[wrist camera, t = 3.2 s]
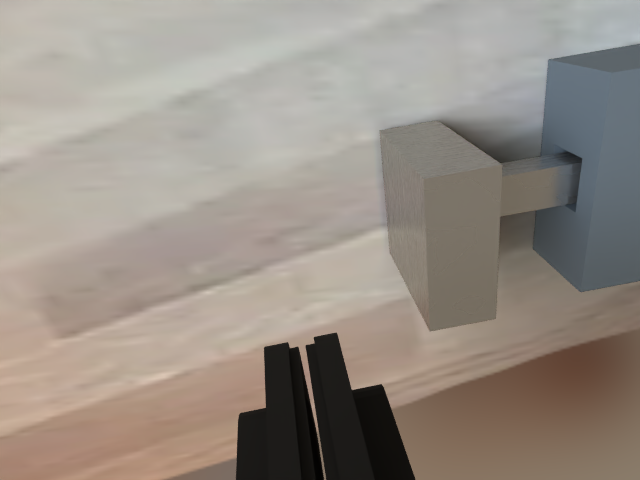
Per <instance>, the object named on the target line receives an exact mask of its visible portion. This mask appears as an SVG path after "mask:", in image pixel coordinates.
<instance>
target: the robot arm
mask: <svg viewBox="0 0 640 480" xmlns="http://www.w3.org/2000/svg"><path fill="white" fill-rule="evenodd" d="M314 342H315V344H310V345H306V351H307V358H308V364H309V370H310V377H311V383H312V390H313V396H314V403H315V409H316V415H317V422H318V428H319V434H320V441H321V447H322V454H323V460H324V467H325V473H326V480H415V477H414V474H413V471H412V468H411V465H410V463H409V460H408V457H407V454H406V451H405V448H404V445H403V442H402V439H401V436H400V434H399V431H398V428H397V425H396V422H395V419H394V416H393V413H392V410H391V407H390V404H389V401H388V398H387V396H386V393H385V390H384V387H383V386H382V384H380V385H375V386H370V387H365V388H360V389H356V390H352V389H351V386H350V382H349V378H348V374H347V370H346V366H345V362H344V358H343V355H342V351H341V347H340V343H339V339H338V335H337V333H332V334H327V335H322V336H317V337H314ZM264 361H265V392H266V408H263V409H258V410H254V411H249V412H244V413H240V414H239V419H238V440H237V469H236V470H237V471H236V480H324V477H323V470H322V463H321V457H320V450H319V443H318V438H317V432H316V427H315V422H314V417H313V413H312V408H311V403H310V399H309V394H308V389H307V385H306V380H305V375H304V371H303V366H302V361H301V356H300V352H299V348H298V347H295V348H290V347H289V344H288V342H287V343H282V344H277V345H272V346H267V347H264Z"/></svg>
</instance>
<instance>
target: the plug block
mask: <svg viewBox="0 0 640 480" xmlns="http://www.w3.org/2000/svg"><path fill="white" fill-rule="evenodd" d="M380 143H381V155H382V167H383V178H384V190H385V202H386V214H387V226H388V238H389V250H390V254H391V256H392V258H393V260H394V262H395V264H396V266H397V268H398V270H399V272H400V274H401V276H402V278H403V280H404V282H405V284H406V286H407V288H408V290H409V292H410V294H411V295H412V297H413V299H414V301H415V303H416V305H417V307H418V309H419V311H420V313H421V315H422V317H423V319H424V321H425V323H426V325H427V327H428V329H429V331H435V330H440V329H445V328H450V327H456V326H461V325H466V324H471V323H477V322H482V321H487V320H492V319H496V305H497V282H498V258H499V235H500V217H501V216H507V215H512V214H518V213H523V212H529V211H534V210H540V209H545V208H551V207H556V206H561V205H567V204H572V203H577V197H578V189H579V181H580V173H581V165H582V158H581V157H579V156H577V155H574V154H572V153H570V152H568V151H567V152H561V153H556V154H550V155H545V156H539V157H533V158H528V159H522V160H517V161H511V162H505V163H499V162H498V161H496V160H495V159H493V158H492V157H490V156H489V155H487V154H486V153H484V152H483V151H481V150H480V149H479V148H477V147H476V146H474V145H473V144H471V143H470V142H468V141H467V140H465V139H464V138H462V137H461V136H459V135H458V134H457V133H455V132H454V131H452V130H451V129H449V128H448V127H446V126H445V125H443V124H442V123H440V122H439V121H431V122H425V123H420V124H414V125H408V126H402V127H397V128H391V129H385V130H380Z"/></svg>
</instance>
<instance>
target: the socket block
mask: <svg viewBox="0 0 640 480" xmlns="http://www.w3.org/2000/svg"><path fill="white" fill-rule="evenodd" d="M567 151H568V152H570V153H572V154H574V155H577V156H579V157H581V158H582V165H581V173H580V181H579V189H578V197H577V203H572V204H567V205H561V206H556V207H551V208H545V209H540V210H536V219H535V231H534V243H533V249H534V250H535V251H536V252H537V253H538V254H539V255H540V256H541V257H542V258H544V259H545V260H546V261H547V262H548V263H549V264H550V265H551V266H552V267H553V268H554V269H556V270H557V271H558V272H559V273H560V274H561V275H562V276H563V277H564V278H565V279H566V280H568V281H569V282H570V283H571V284H572V285H573V286H574V287H575V288H576V289H577V290H579V291H580V292H584V291H589V290H595V289H600V288H605V287H610V286H616V285H621V284H626V283H631V282H637V281H640V44H637V45H631V46H625V47H619V48H613V49H608V50H602V51H596V52H590V53H584V54H578V55H573V56H567V57H561V58H555V59H549V60H548V73H547V85H546V97H545V109H544V121H543V133H542V146H541V156H545V155H550V154H556V153H561V152H567Z"/></svg>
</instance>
